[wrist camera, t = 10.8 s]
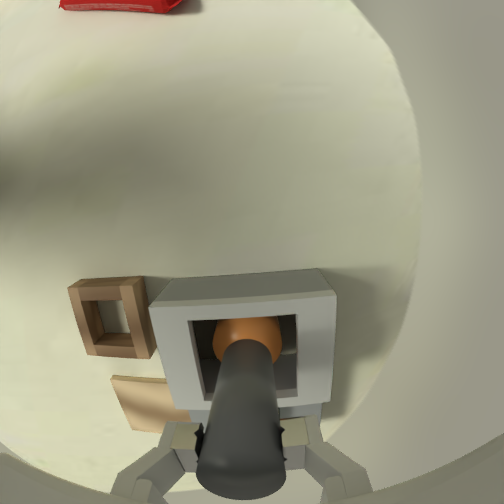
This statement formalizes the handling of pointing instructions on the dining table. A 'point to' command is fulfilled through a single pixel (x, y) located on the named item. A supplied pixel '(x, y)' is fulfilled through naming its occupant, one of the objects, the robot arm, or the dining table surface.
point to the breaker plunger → (248, 334)
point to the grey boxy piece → (245, 306)
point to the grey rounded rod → (243, 427)
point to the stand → (136, 310)
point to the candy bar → (120, 5)
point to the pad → (147, 403)
